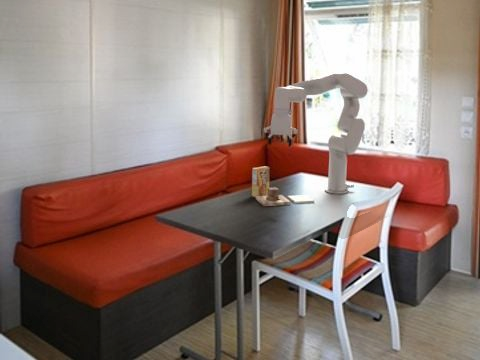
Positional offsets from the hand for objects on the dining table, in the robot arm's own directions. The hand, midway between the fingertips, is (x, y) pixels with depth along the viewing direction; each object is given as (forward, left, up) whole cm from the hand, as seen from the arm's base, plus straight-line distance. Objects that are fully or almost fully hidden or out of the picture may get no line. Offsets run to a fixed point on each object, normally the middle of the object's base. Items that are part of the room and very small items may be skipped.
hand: (279, 146), depth 274 cm
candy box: (+7, -9, -28) cm, 30 cm away
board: (-11, +4, -28) cm, 30 cm away
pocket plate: (+4, +4, -28) cm, 29 cm away
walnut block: (+4, +4, -28) cm, 29 cm away
